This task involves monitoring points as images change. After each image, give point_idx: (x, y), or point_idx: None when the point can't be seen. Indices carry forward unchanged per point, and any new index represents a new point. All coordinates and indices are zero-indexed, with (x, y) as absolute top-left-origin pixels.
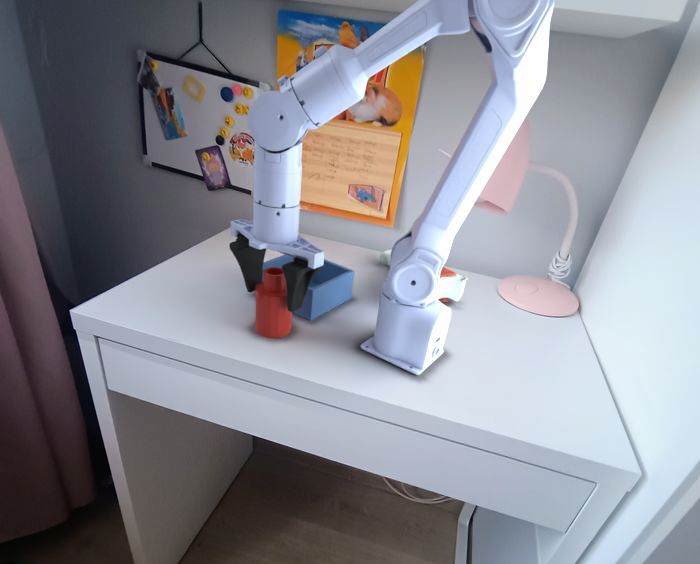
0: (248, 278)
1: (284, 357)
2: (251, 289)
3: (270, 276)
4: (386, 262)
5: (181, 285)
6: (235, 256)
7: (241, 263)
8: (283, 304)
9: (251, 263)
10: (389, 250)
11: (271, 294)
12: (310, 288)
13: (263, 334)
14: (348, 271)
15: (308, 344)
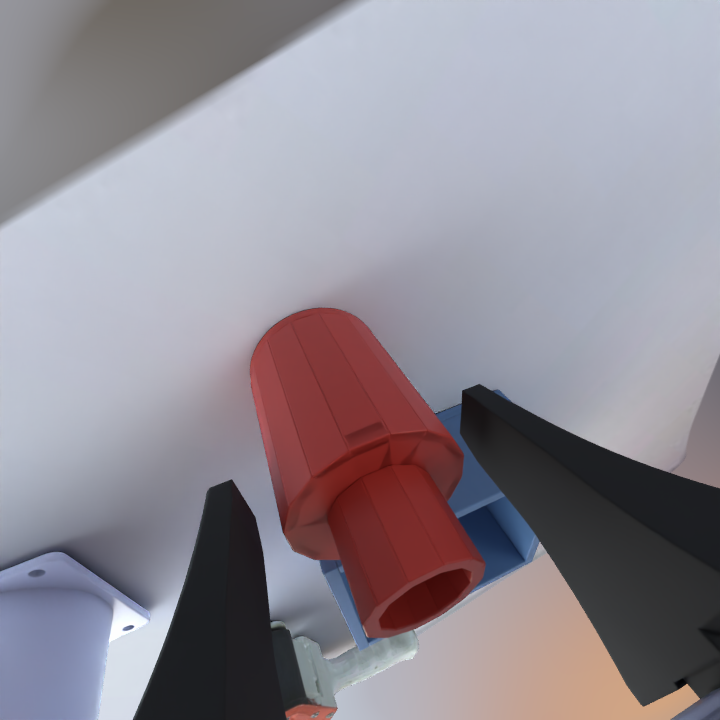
0: (516, 436)
1: (93, 318)
2: (470, 404)
3: (400, 577)
4: (394, 636)
5: (683, 229)
6: (700, 488)
7: (622, 480)
8: (274, 482)
9: (576, 517)
10: (412, 656)
11: (333, 481)
12: (342, 569)
13: (290, 319)
14: (366, 641)
15: (160, 426)
